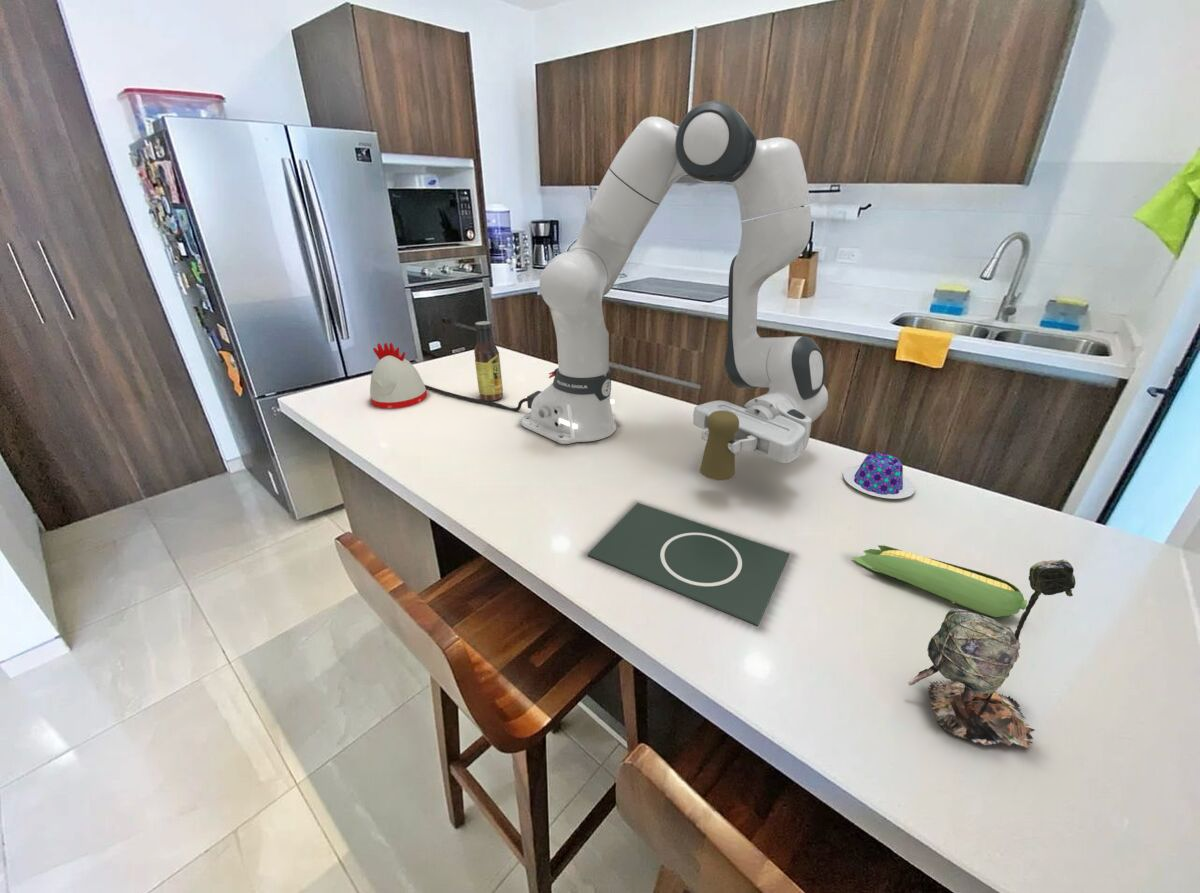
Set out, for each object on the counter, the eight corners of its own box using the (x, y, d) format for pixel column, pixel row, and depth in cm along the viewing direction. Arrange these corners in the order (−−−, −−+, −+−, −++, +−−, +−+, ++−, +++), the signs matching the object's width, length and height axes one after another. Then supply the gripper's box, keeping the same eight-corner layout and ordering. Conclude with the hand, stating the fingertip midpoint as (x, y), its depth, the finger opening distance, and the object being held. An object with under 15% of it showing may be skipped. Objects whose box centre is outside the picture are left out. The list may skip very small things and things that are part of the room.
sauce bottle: (501, 402, 130) (492, 326, 120) (477, 402, 130) (467, 326, 120) (505, 392, 135) (497, 319, 126) (482, 392, 136) (473, 319, 126)
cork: (735, 482, 84) (744, 422, 78) (699, 478, 85) (705, 419, 79) (734, 464, 89) (742, 407, 84) (699, 461, 90) (705, 405, 85)
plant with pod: (906, 659, 59) (961, 522, 49) (1026, 707, 53) (1114, 562, 44) (900, 714, 53) (962, 569, 43) (1035, 774, 47) (1139, 623, 38)
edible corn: (1017, 633, 62) (1032, 606, 60) (846, 569, 72) (853, 544, 70) (1017, 607, 66) (1030, 581, 63) (854, 550, 76) (861, 526, 74)
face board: (587, 555, 76) (587, 553, 75) (637, 504, 88) (637, 502, 87) (757, 625, 63) (758, 623, 63) (788, 555, 75) (789, 552, 75)
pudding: (881, 508, 86) (889, 482, 83) (827, 475, 95) (833, 451, 93) (929, 492, 90) (938, 467, 87) (873, 462, 100) (879, 439, 97)
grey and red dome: (388, 387, 140) (377, 335, 133) (435, 389, 138) (425, 336, 131) (361, 407, 128) (346, 350, 121) (411, 409, 126) (400, 352, 119)
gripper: (722, 387, 97) (673, 405, 89) (821, 422, 83) (772, 447, 75) (718, 417, 100) (671, 437, 92) (813, 455, 86) (766, 482, 78)
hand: (717, 442), depth 83 cm, fingers closed on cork, 4 cm apart
